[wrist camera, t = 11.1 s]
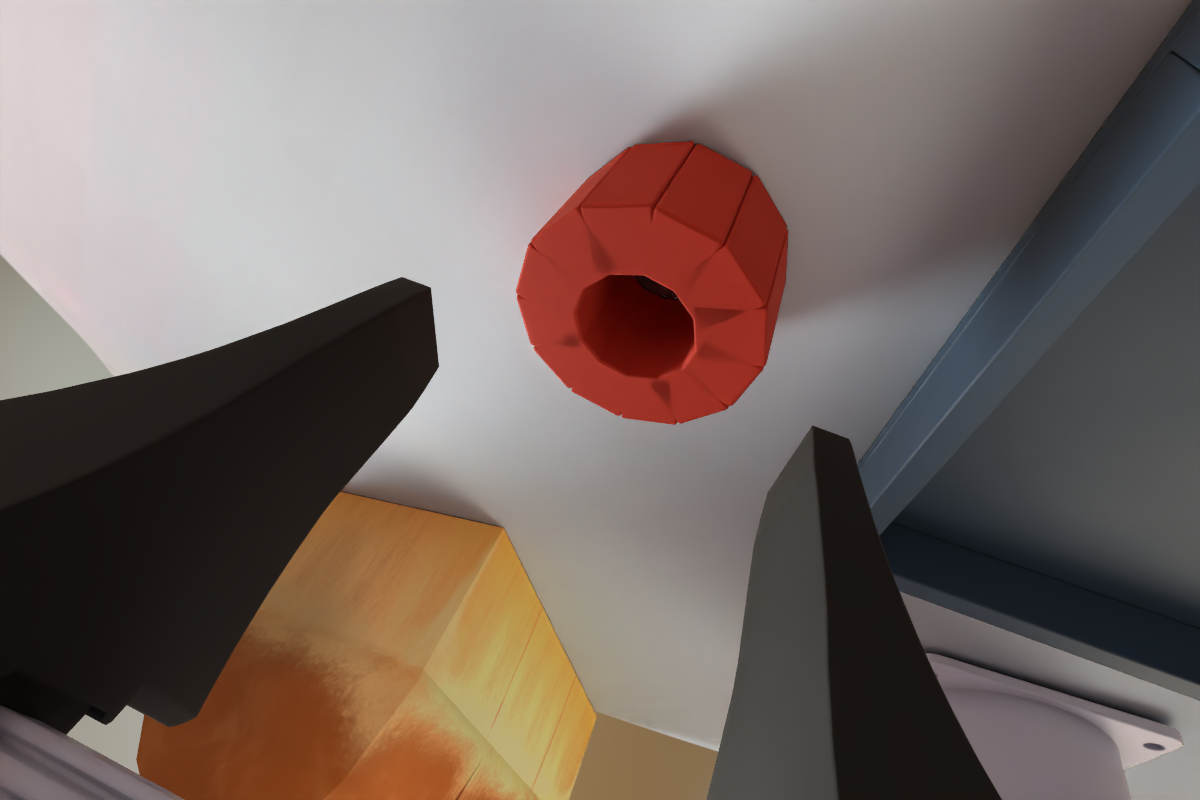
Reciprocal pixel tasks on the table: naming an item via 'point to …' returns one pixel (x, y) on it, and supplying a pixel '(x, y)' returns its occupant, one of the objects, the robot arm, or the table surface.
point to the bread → (386, 675)
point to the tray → (1073, 409)
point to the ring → (671, 258)
